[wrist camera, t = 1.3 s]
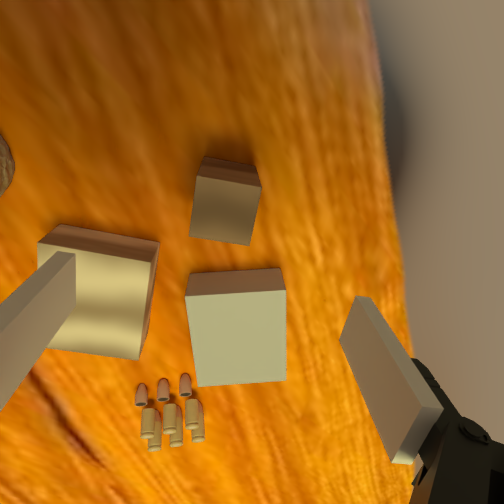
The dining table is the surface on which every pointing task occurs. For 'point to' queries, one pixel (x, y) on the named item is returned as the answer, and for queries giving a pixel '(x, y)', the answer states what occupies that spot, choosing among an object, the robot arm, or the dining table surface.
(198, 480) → the dining table surface
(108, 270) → the pale oak block
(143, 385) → the ammunition
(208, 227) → the walnut block
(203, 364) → the grey painted block
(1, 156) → the coral
